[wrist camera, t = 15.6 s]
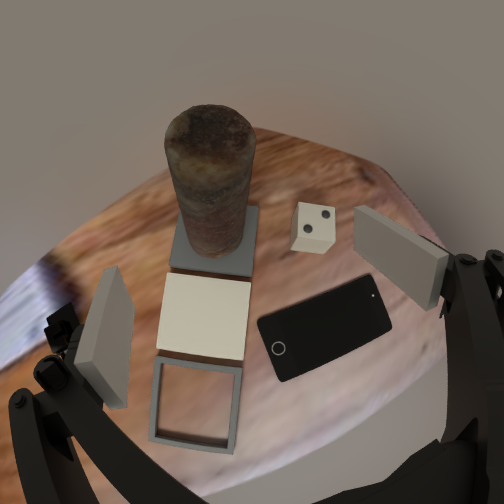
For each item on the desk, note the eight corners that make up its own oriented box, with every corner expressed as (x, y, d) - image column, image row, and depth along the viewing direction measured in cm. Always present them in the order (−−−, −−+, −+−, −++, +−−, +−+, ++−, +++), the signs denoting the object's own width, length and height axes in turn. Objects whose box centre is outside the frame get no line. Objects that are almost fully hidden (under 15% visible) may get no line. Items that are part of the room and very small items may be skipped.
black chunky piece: (107, 368, 34) (92, 369, 29) (71, 387, 32) (55, 390, 28) (73, 291, 37) (57, 284, 32) (40, 312, 35) (23, 307, 31)
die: (289, 250, 40) (297, 236, 36) (291, 218, 42) (298, 201, 37) (323, 254, 41) (335, 241, 36) (324, 222, 42) (335, 206, 37)
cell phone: (255, 321, 37) (255, 320, 36) (368, 275, 40) (371, 273, 40) (279, 382, 35) (280, 383, 34) (390, 329, 38) (393, 328, 37)
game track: (150, 438, 31) (148, 441, 29) (183, 202, 42) (182, 198, 40) (233, 451, 31) (233, 454, 30) (258, 210, 42) (258, 206, 41)
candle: (232, 203, 41) (236, 94, 22) (253, 248, 39) (274, 155, 20) (181, 221, 39) (148, 119, 20) (199, 269, 37) (169, 189, 18)
